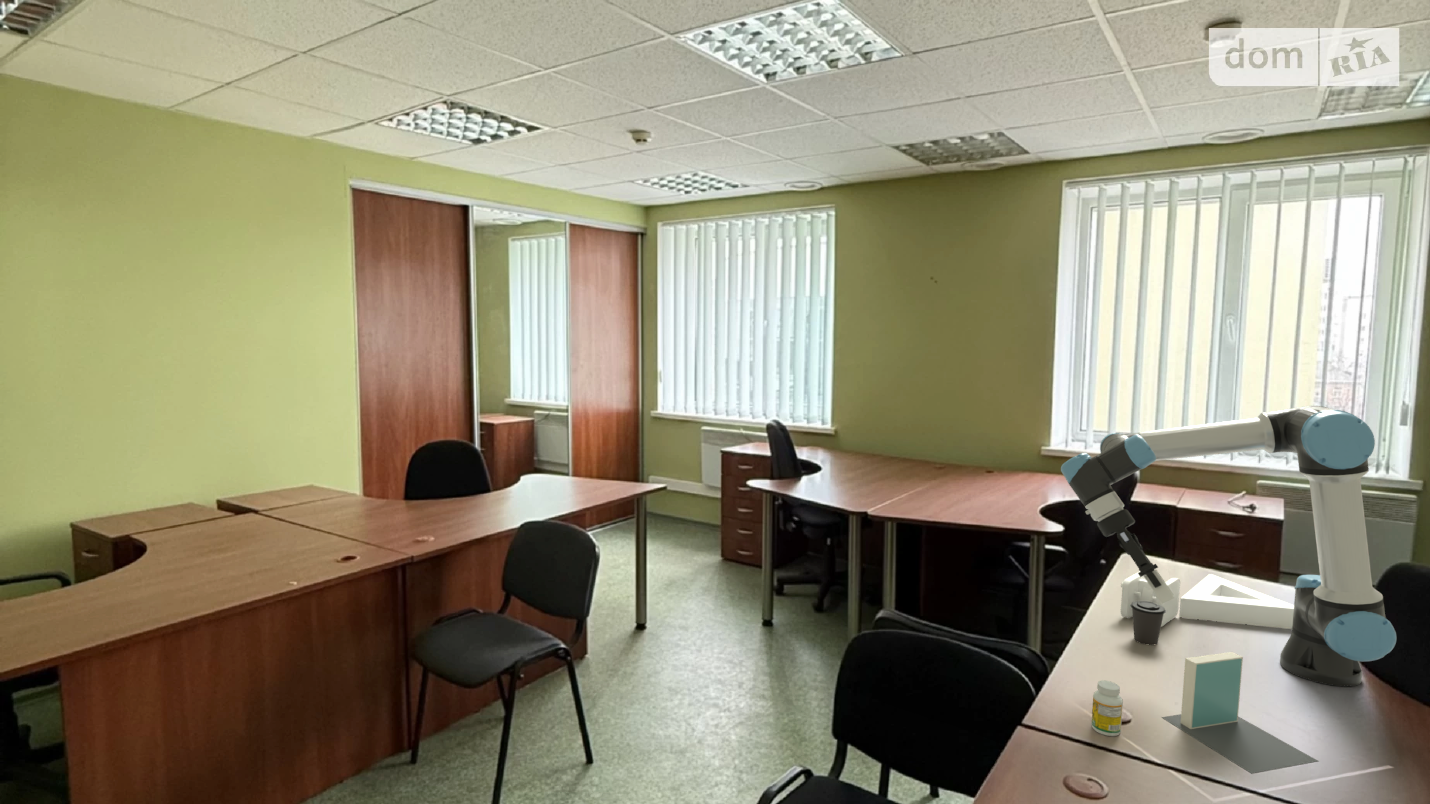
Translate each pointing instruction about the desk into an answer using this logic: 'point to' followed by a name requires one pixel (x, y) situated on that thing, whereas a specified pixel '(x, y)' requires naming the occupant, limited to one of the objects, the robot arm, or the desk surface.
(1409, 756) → the desk surface
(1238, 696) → the tile
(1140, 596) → the cable organizer
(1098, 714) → the supplement bottle
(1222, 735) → the mat
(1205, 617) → the triangle block
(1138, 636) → the coffee cup
